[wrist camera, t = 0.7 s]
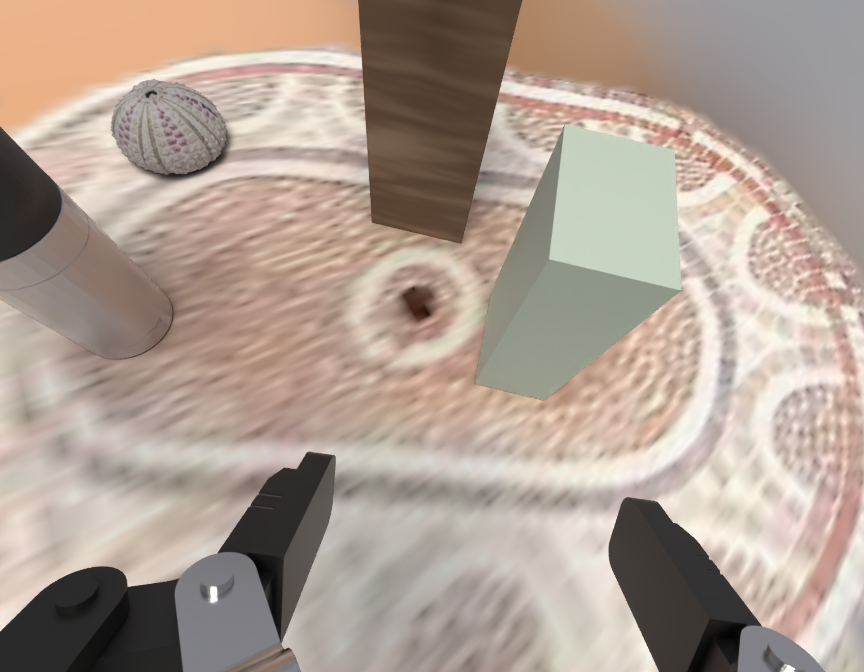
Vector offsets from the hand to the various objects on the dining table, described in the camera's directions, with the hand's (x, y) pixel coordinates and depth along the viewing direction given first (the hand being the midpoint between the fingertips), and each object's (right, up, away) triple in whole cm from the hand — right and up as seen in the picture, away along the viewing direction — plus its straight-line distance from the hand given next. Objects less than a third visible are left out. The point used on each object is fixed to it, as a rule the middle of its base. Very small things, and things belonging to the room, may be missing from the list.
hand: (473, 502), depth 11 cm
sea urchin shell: (-36, +30, +45) cm, 65 cm away
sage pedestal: (+9, +4, +37) cm, 38 cm away
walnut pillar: (-2, +24, +46) cm, 52 cm away
